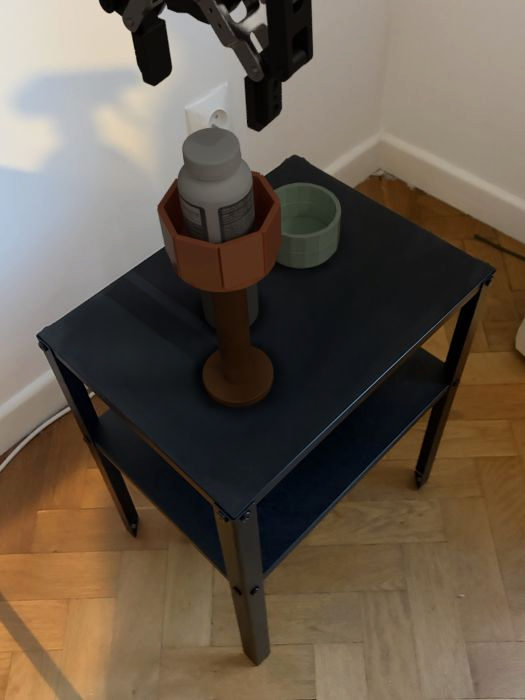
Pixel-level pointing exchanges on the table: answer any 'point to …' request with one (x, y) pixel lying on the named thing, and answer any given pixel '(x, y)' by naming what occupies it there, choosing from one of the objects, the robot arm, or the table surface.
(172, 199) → the raised bowl
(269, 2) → the robot arm
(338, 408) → the table surface
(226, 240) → the pill bottle
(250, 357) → the stand
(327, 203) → the back bowl
